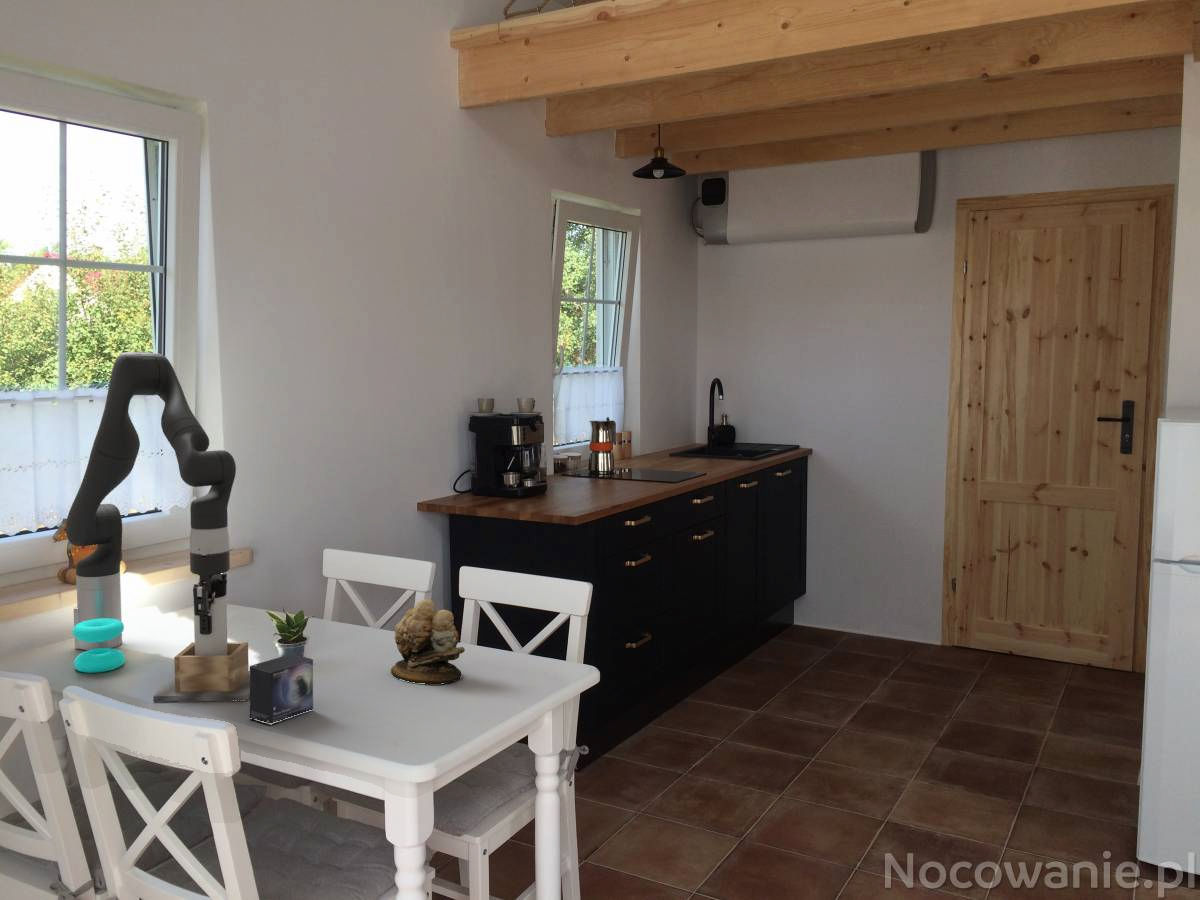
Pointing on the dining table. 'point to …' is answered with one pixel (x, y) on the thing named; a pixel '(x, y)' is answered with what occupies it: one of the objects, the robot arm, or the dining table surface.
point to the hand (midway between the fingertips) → (211, 629)
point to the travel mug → (213, 625)
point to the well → (209, 676)
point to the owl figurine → (427, 645)
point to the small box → (281, 688)
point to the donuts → (101, 656)
